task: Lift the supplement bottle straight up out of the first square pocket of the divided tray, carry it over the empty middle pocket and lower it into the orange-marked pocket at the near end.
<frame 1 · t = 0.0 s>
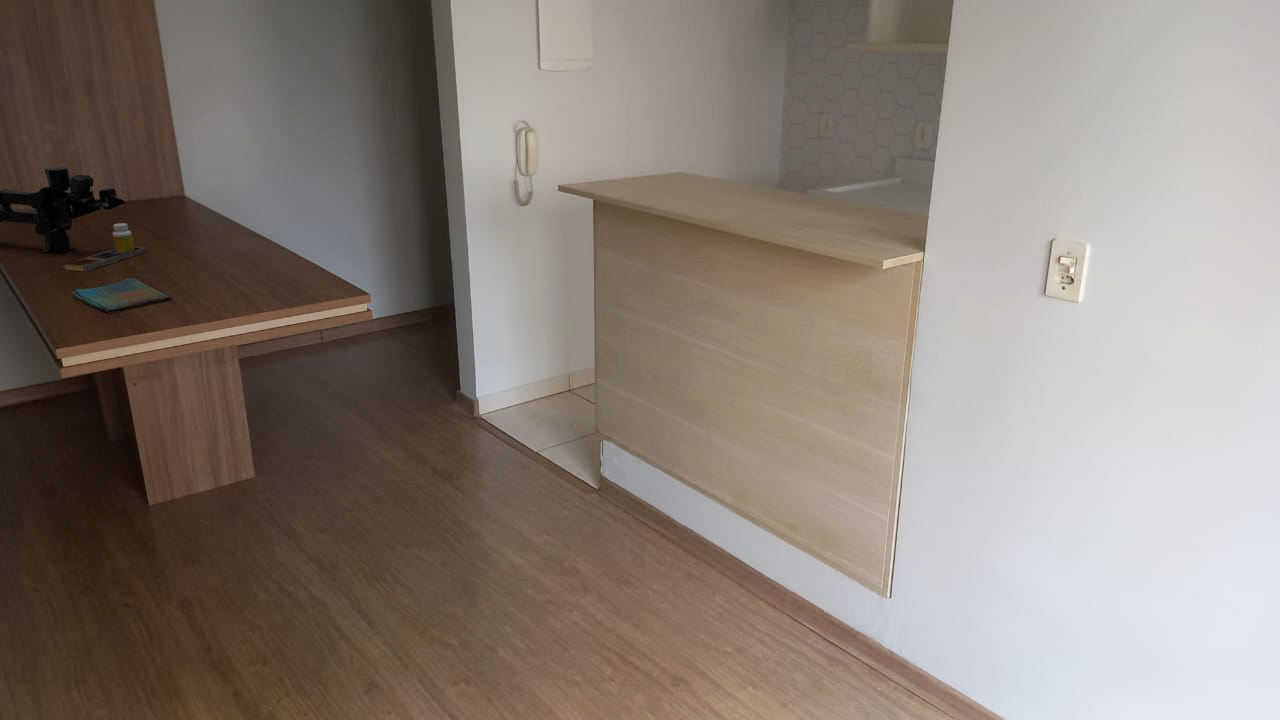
hand: (112, 204, 279), 17 cm above the table, tool horizontal, fingers open, 9 cm apart
supplement bottle: (126, 255, 288), resting in divided tray
dish towel: (123, 300, 246), on the table
divided tray: (106, 260, 281), on the table
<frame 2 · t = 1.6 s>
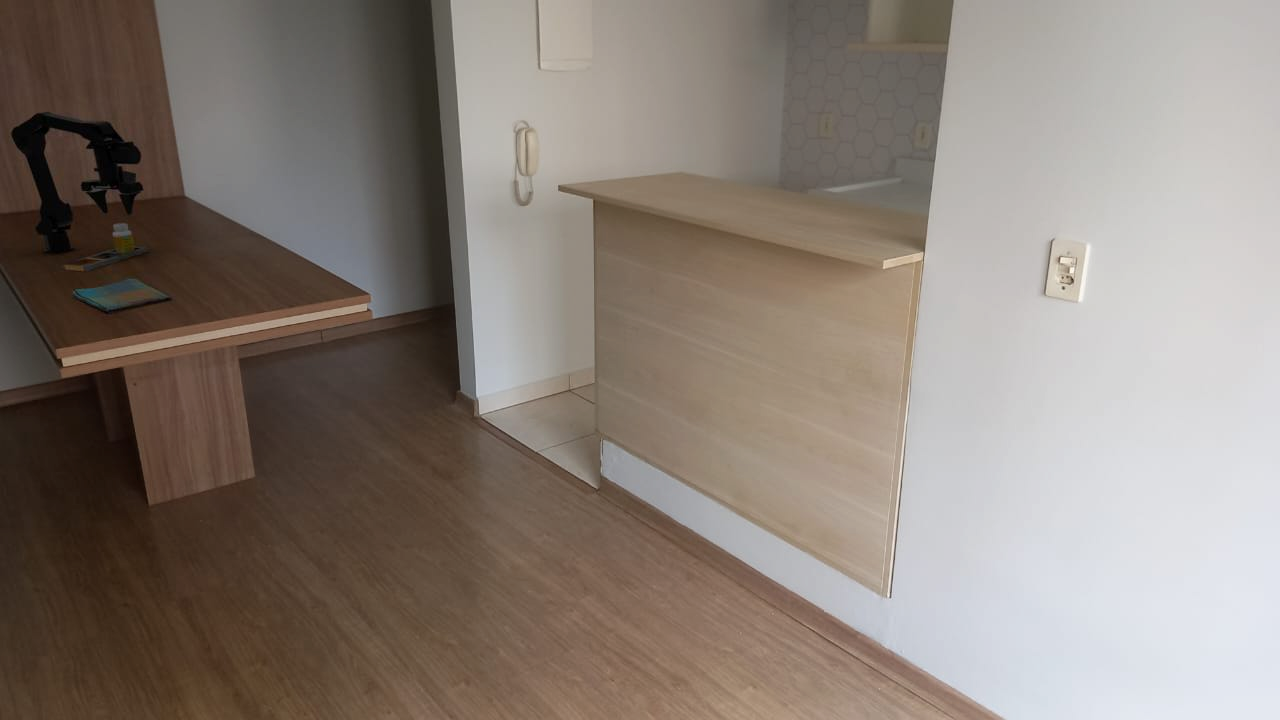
hand: (117, 213, 283), 13 cm above the table, tool pointing down, fingers open, 9 cm apart
nothing on the table moved.
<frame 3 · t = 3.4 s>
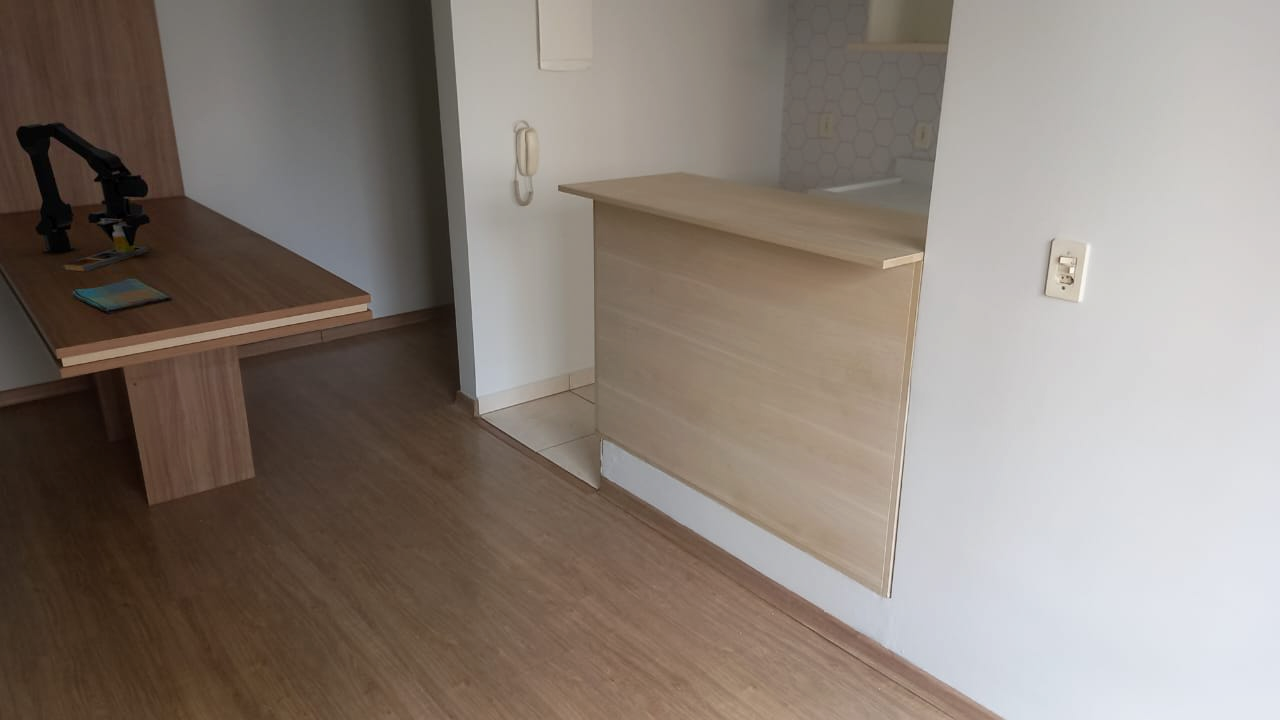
hand: (124, 245, 287), 3 cm above the table, tool pointing down, fingers closed on supplement bottle, 5 cm apart
supplement bottle: (126, 255, 288), resting in divided tray, touching gripper
everything else where it was.
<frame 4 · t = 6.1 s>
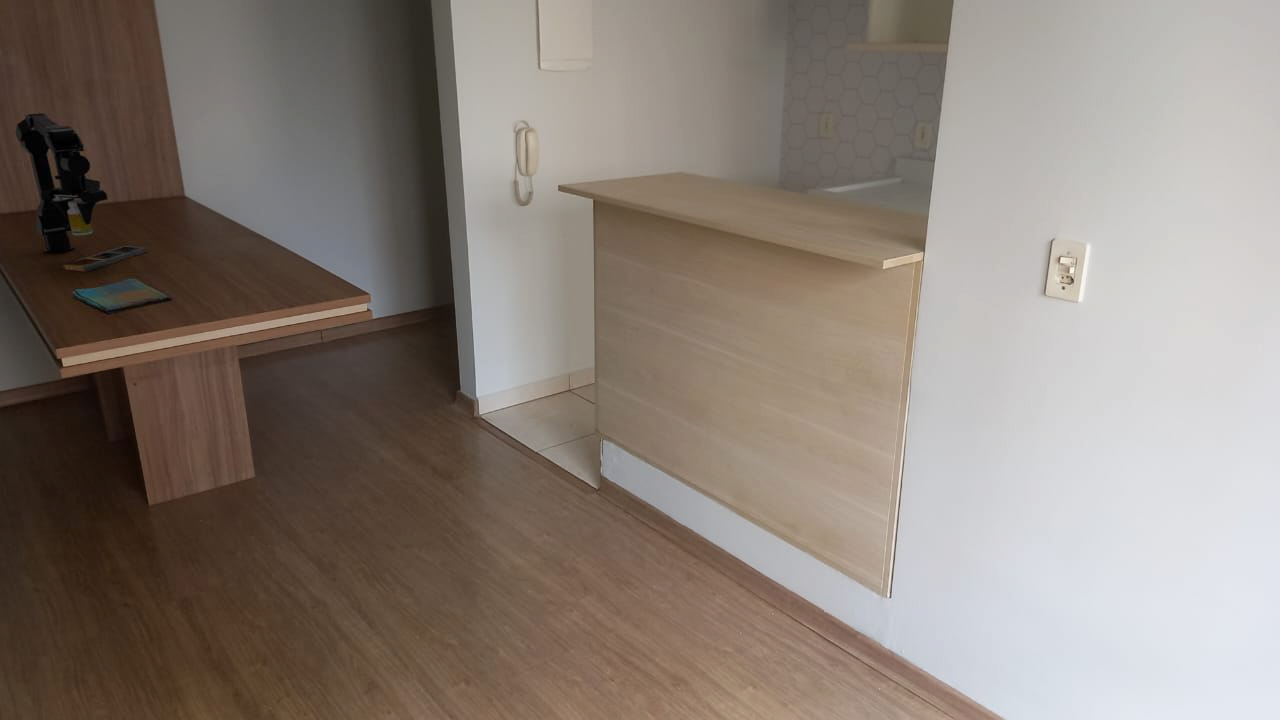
hand: (80, 223, 270), 13 cm above the table, tool pointing down, fingers closed on supplement bottle, 5 cm apart
supplement bottle: (82, 234, 272), point 10 cm above the table, touching gripper
everything else where it was.
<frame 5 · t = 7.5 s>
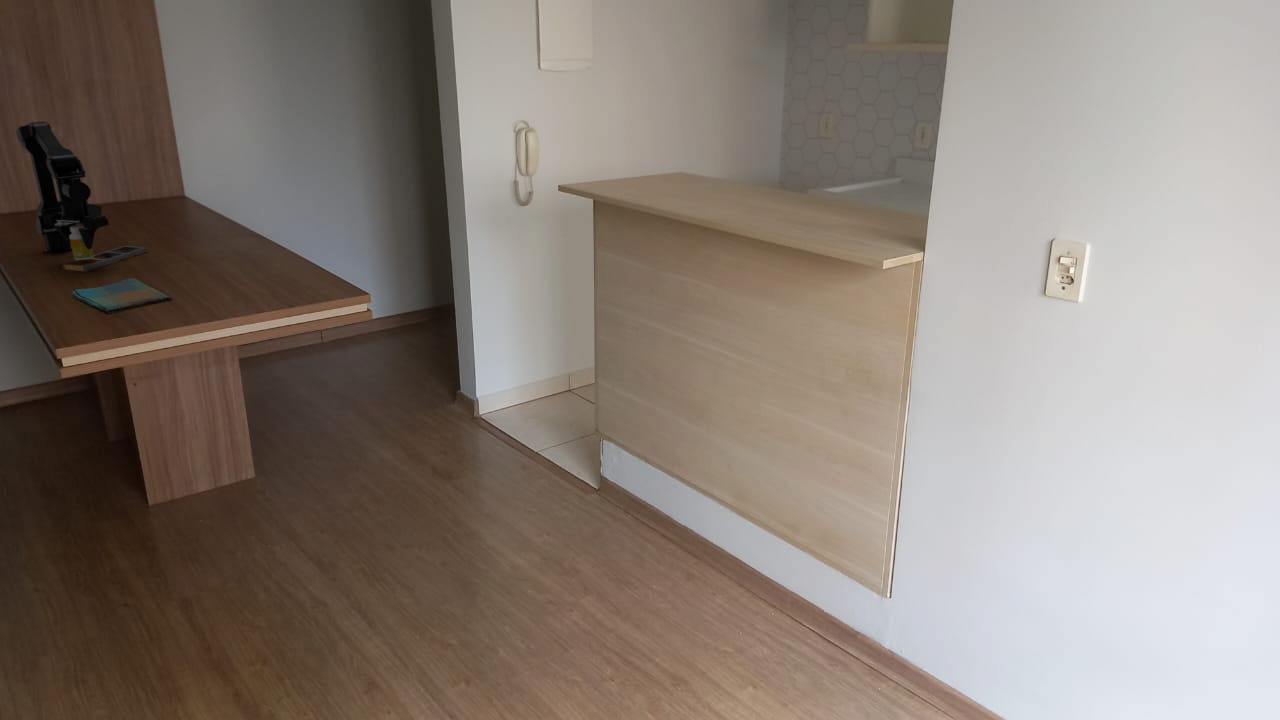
hand: (82, 248, 272), 6 cm above the table, tool pointing down, fingers closed on supplement bottle, 5 cm apart
supplement bottle: (84, 258, 273), point 3 cm above the table, touching gripper
everything else where it was.
when the fingers open (4 cm above the table, at t = 8.7 s): supplement bottle stays where it is, resting on divided tray.
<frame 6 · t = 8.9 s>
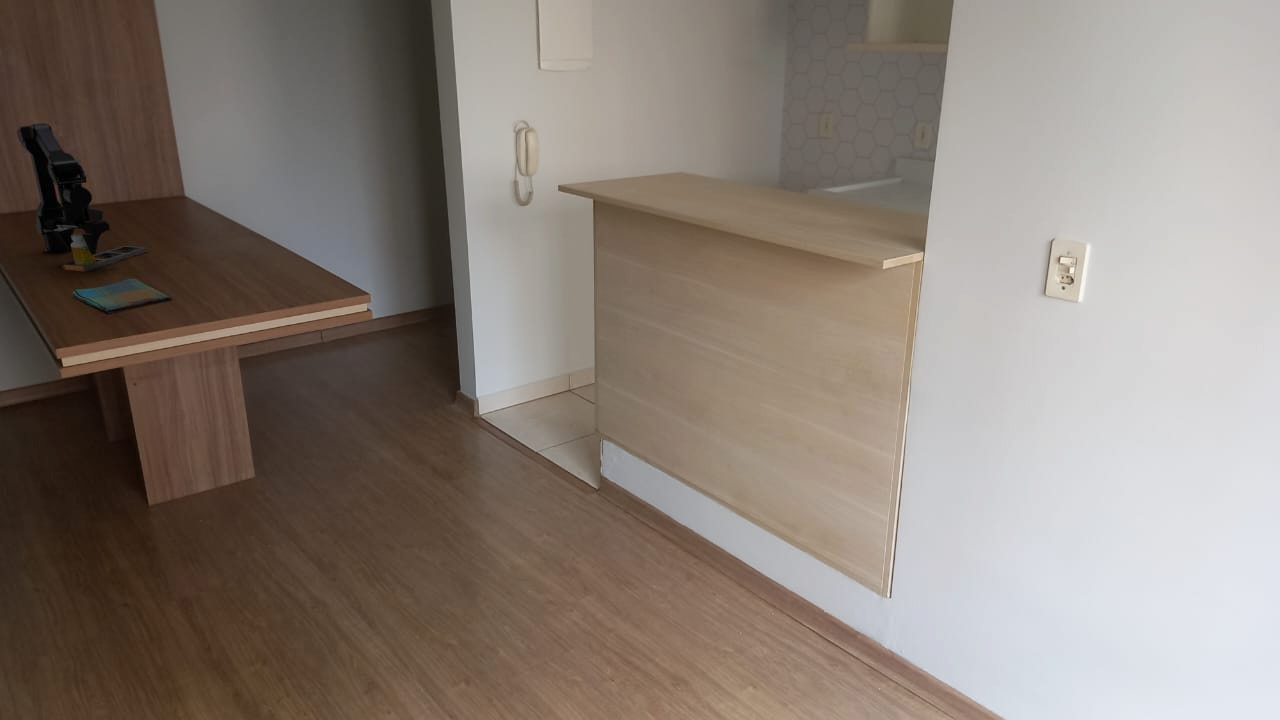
hand: (83, 253, 273), 4 cm above the table, tool pointing down, fingers open, 7 cm apart
supplement bottle: (86, 266, 274), resting on divided tray
everything else where it was.
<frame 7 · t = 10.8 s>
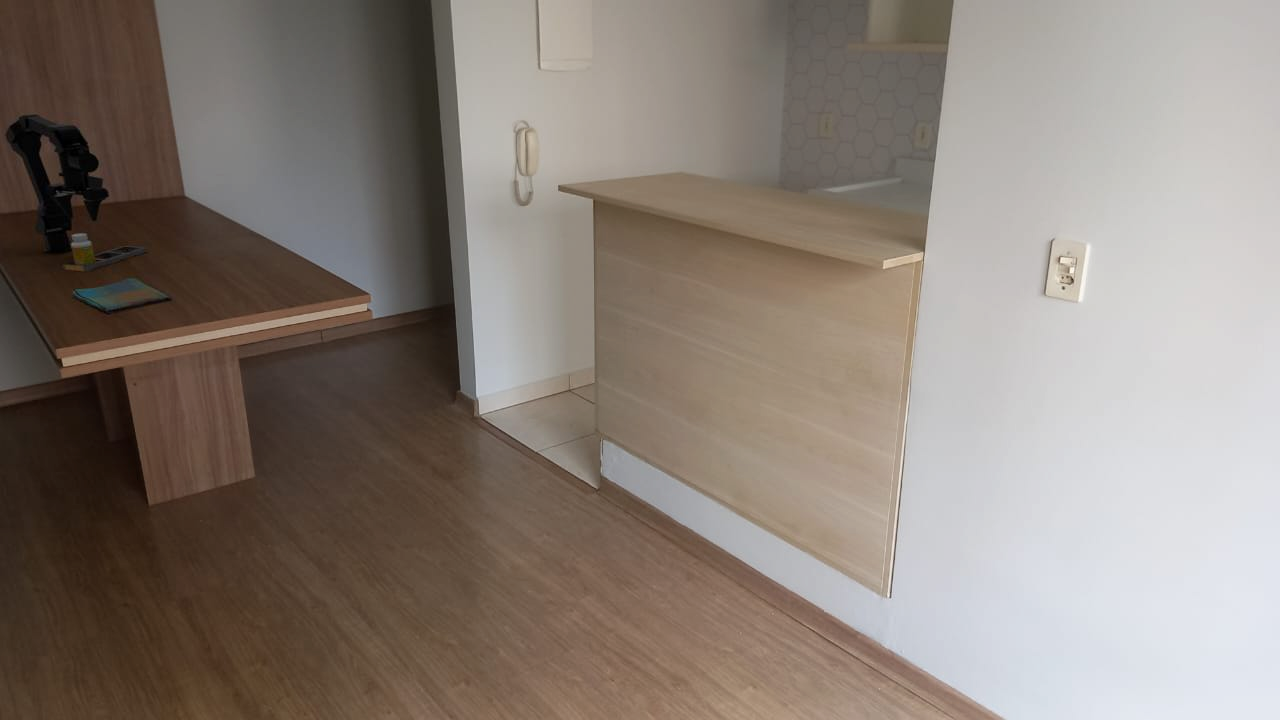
hand: (82, 219, 278), 13 cm above the table, tool pointing down, fingers open, 9 cm apart
nothing on the table moved.
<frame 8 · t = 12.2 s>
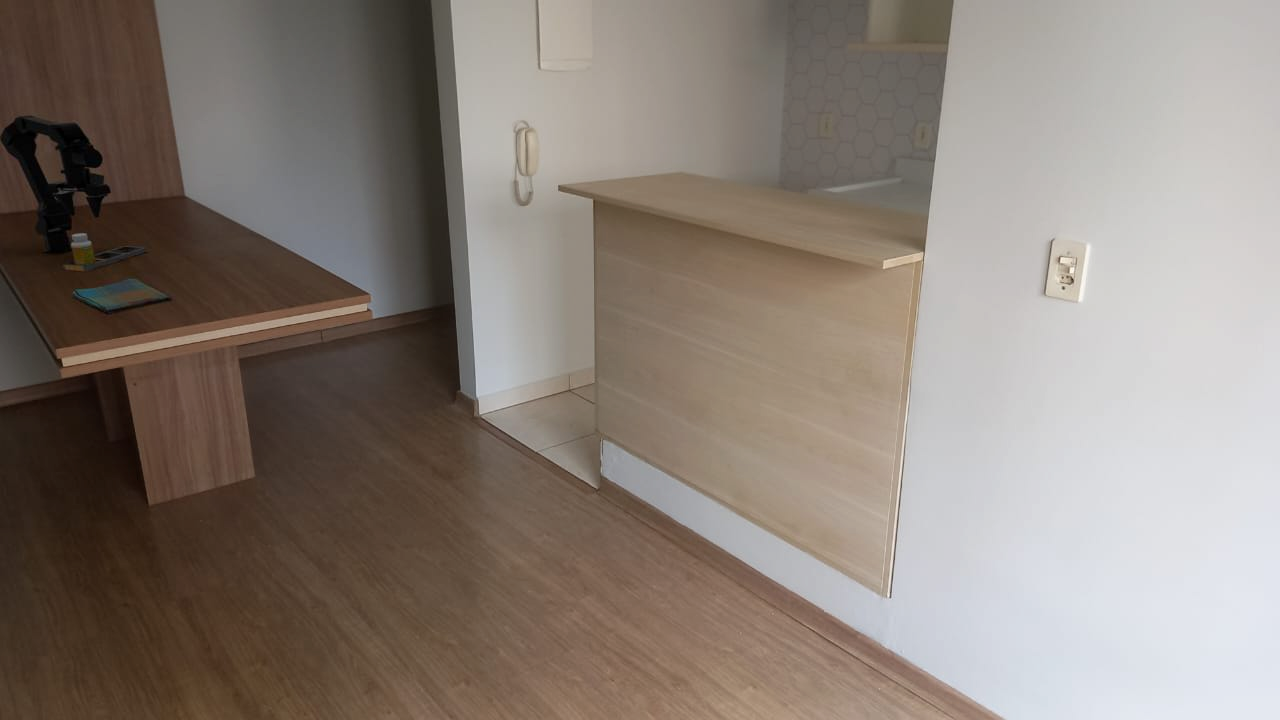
hand: (85, 216, 280), 13 cm above the table, tool pointing down, fingers open, 9 cm apart
nothing on the table moved.
at the end: supplement bottle 0.1 cm from the target spot on the divided tray, point 0.0 cm above the divided tray's base; supplement bottle tilted 0°; the gripper is holding nothing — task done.
